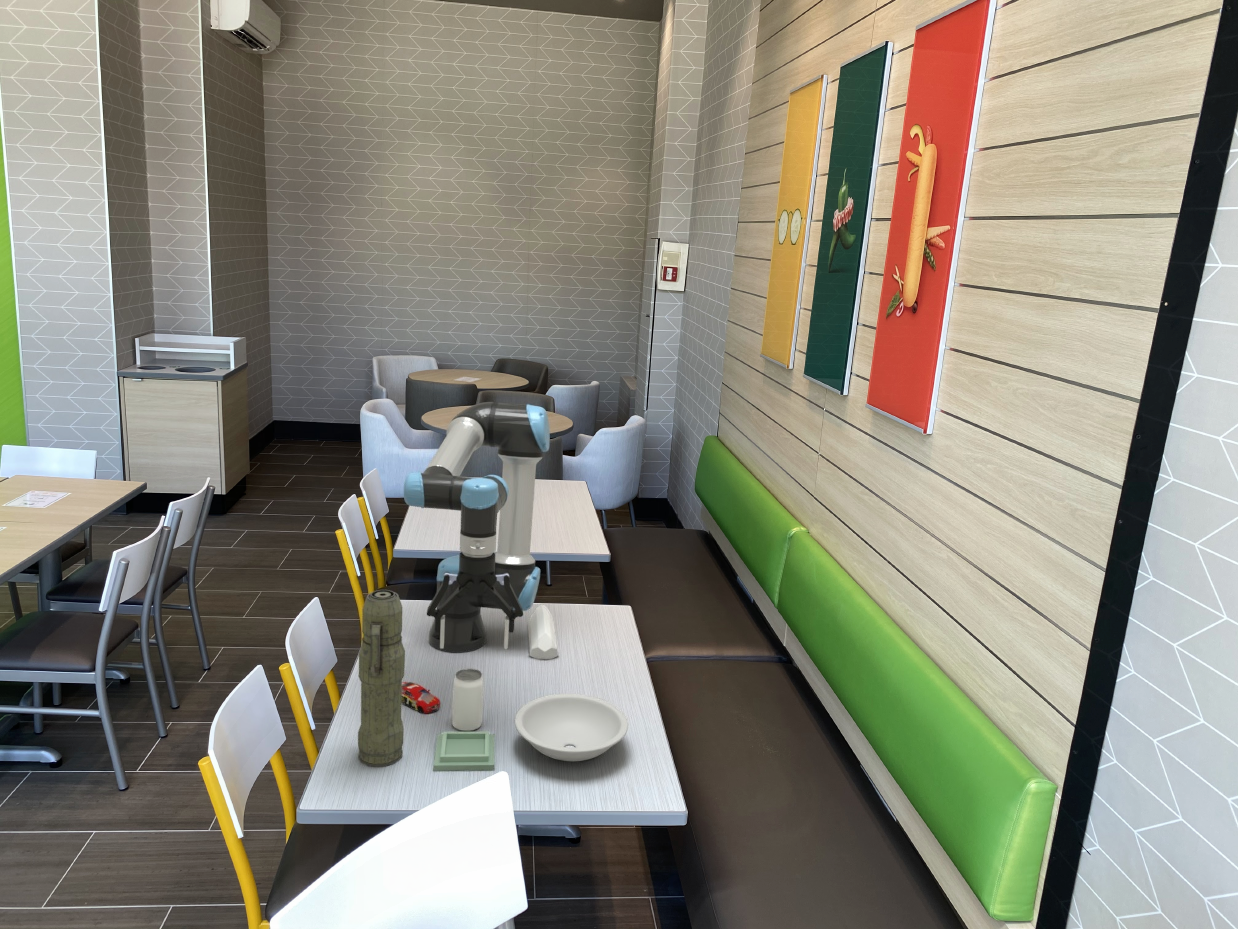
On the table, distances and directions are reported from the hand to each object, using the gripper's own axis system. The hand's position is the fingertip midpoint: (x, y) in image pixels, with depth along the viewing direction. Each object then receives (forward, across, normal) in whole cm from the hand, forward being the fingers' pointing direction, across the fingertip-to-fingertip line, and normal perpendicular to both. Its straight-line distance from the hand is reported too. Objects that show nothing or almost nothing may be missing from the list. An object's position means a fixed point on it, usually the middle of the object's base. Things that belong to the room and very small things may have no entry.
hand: (474, 646), depth 188 cm
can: (+19, -1, 0) cm, 19 cm away
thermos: (+19, -18, -11) cm, 29 cm away
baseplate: (+19, -1, -12) cm, 22 cm away
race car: (+19, -13, +10) cm, 25 cm away
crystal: (+19, +19, +44) cm, 52 cm away
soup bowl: (+19, +21, -10) cm, 30 cm away
